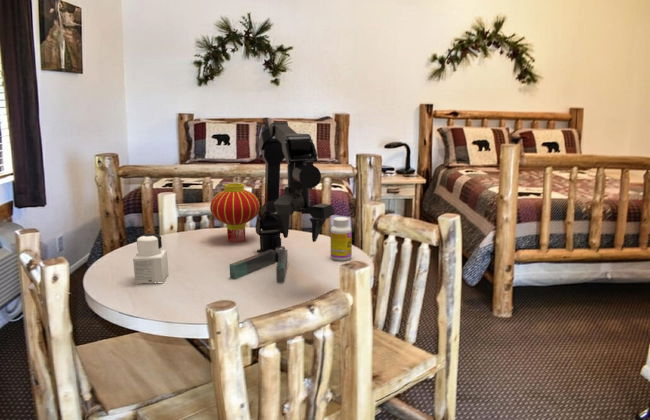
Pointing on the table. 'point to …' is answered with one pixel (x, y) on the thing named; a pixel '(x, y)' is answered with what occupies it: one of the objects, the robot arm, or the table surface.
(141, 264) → the container
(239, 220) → the lantern
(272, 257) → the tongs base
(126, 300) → the table surface
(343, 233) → the supplement bottle
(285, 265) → the bar
